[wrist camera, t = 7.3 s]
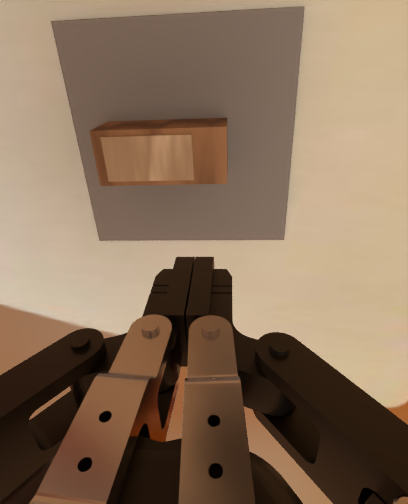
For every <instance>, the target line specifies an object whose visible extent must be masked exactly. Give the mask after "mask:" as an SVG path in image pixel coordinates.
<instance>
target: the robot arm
mask: <svg viewBox="0 0 408 504" xmlns="http://www.w3.org/2000/svg"><path fill="white" fill-rule="evenodd" d="M181 366H186V367H187V378H186V379H185V384H184V403H183V404H184V405H183V424H182V438H181V439H176V440H172V441H167V442H166V436H167V432H168V428H169V423H170V419H171V415H172V411H173V407H174V403H175V399H176V395H177V391H178V385H179V382H178V378H179V373H180V367H181ZM69 386H70V388H71V391H70V392H68V393H67V394H66V395H64V396H63V397H61V398H60V399H59V400H57V401H56V402H54V403H53V404H52V405H51V406H49V407H47V408H46V409H45V410H43V411H42V412H41V413H39V414H38V415H37V416H35V417H34V418H32V419H30V420H29V418H30V416H31V415H32V414H33V413H34V412H35V410H37V409H38V408H39V407H41V406H42V405H44V404H45V403H47V402H48V401H49V400H51V399H52V398H54V397H55V396H57V395H58V394H59V393H61V392H62V391H63V390H65V389H66V388H68V387H69ZM244 406H245V407H248V408H251V409H253V411H254V414H255V416H256V418H257V419H258V420H259V421H260V422H261V423H262V424H263V426H264V427H265V428H266V429H267V430H268V431H269V432H270V433H271V435H272V436H273V437H274V438H275V439H276V440H277V441H278V442H279V444H280V445H281V446H282V447H283V448H284V449H285V450H286V451H287V452H288V454H289V455H290V456H291V457H292V458H293V459H294V460H295V461H296V463H297V464H298V465H299V466H300V467H301V468H302V469H303V470H304V471H305V473H306V474H307V475H308V476H309V477H310V478H311V479H312V480H313V482H314V483H315V484H316V485H317V486H318V487H319V488H320V489H321V491H322V492H323V493H324V494H325V495H326V496H327V497H328V498H329V499H330V500H331V502H332V503H333V504H408V425H407V424H406V423H405V422H403V421H402V420H401V419H399V418H398V417H397V416H396V415H394V414H393V413H392V412H390V411H389V410H388V409H386V408H385V407H384V406H383V405H381V404H380V403H379V402H377V401H376V400H375V399H373V398H372V397H371V396H370V395H368V394H367V393H366V392H364V391H363V390H362V389H360V388H359V387H358V386H357V385H355V384H354V383H353V382H351V381H350V380H349V379H347V378H346V377H345V376H344V375H342V374H341V373H340V372H338V371H337V370H336V369H334V368H333V367H332V366H331V365H329V364H328V363H327V362H325V361H324V360H323V359H321V358H320V357H319V356H318V355H316V354H315V353H314V352H312V351H311V350H310V349H309V348H307V347H306V346H305V345H303V344H302V343H301V342H299V341H298V340H297V339H295V338H294V337H292V336H290V335H288V334H285V333H279V332H273V333H268V334H265V335H263V336H262V337H260V339H259V340H257V339H253V338H250V337H247V336H245V335H243V334H241V333H240V332H239V331H237V330H236V328H235V327H234V325H233V322H232V276H231V275H230V273H229V272H228V270H227V269H214V257H196V258H195V257H176V260H175V264H174V267H173V269H163V270H162V271H161V272H160V273H159V274H158V275H157V276H156V277H155V280H154V283H153V287H152V289H151V294H150V295H149V298H148V301H147V304H146V307H145V310H144V313H143V316H142V317H141V318H139V319H137V320H136V321H135V322H133V324H132V325H131V326H130V328H129V330H128V332H127V333H125V334H122V335H119V336H115V337H110V338H105V339H104V338H103V335H102V333H101V332H99V331H98V330H96V329H91V328H86V329H80V330H76V331H74V332H72V333H70V334H68V335H67V336H65V337H63V338H62V339H60V340H58V341H57V342H55V343H53V344H52V345H50V346H48V347H47V348H45V349H43V350H42V351H40V352H38V353H37V354H35V355H33V356H32V357H30V358H28V359H27V360H25V361H23V362H22V363H20V364H18V365H17V366H15V367H13V368H12V369H10V370H8V371H7V372H5V373H3V374H2V375H0V504H303V503H302V502H301V500H300V499H299V498H298V496H297V495H296V494H295V493H294V491H293V490H292V489H291V487H290V486H289V485H288V484H287V482H286V481H285V480H284V478H283V477H282V476H281V475H280V474H279V473H278V472H277V471H276V470H275V469H274V468H273V467H272V466H271V465H270V464H269V463H267V462H266V461H265V460H264V459H262V458H260V457H259V456H257V455H256V454H253V453H251V452H249V446H248V438H247V430H246V422H245V413H244Z"/></svg>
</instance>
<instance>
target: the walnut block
mask: <svg viewBox="0 0 408 504" xmlns="http://www.w3.org/2000/svg"><path fill="white" fill-rule="evenodd" d="M89 132H90V137H91V142H92V147H93V152H94V157H95V161H96V166H97V171H98V176H99V181H100V186H132V185H189V184H227V173H228V147H227V118H199V119H169V120H139V121H109V122H106V123H104V124H102V125H100V126H98V127H96V128H94V129H92V130H90V131H89Z"/></svg>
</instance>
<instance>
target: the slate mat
mask: <svg viewBox="0 0 408 504" xmlns="http://www.w3.org/2000/svg"><path fill="white" fill-rule="evenodd" d="M303 17H304V7H287V8H270V9H253V10H235V11H218V12H201V13H184V14H167V15H150V16H133V17H116V18H99V19H82V20H65V21H51V23H52V28H53V32H54V37H55V41H56V46H57V50H58V55H59V59H60V64H61V68H62V73H63V77H64V82H65V86H66V91H67V96H68V100H69V105H70V109H71V114H72V118H73V123H74V127H75V132H76V136H77V141H78V145H79V150H80V154H81V159H82V163H83V168H84V172H85V177H86V181H87V186H88V191H89V195H90V200H91V204H92V209H93V213H94V218H95V222H96V227H97V231H98V236H99V240H100V241H108V240H284V235H285V224H286V212H287V201H288V189H289V178H290V166H291V155H292V143H293V132H294V120H295V109H296V97H297V86H298V74H299V63H300V51H301V40H302V28H303ZM199 118H227V147H228V173H227V184H189V185H132V186H100V181H99V176H98V171H97V166H96V161H95V157H94V152H93V147H92V142H91V137H90V132H89V131H90V130H92V129H94V128H96V127H98V126H100V125H102V124H104V123H106V122H109V121H139V120H169V119H199Z"/></svg>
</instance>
